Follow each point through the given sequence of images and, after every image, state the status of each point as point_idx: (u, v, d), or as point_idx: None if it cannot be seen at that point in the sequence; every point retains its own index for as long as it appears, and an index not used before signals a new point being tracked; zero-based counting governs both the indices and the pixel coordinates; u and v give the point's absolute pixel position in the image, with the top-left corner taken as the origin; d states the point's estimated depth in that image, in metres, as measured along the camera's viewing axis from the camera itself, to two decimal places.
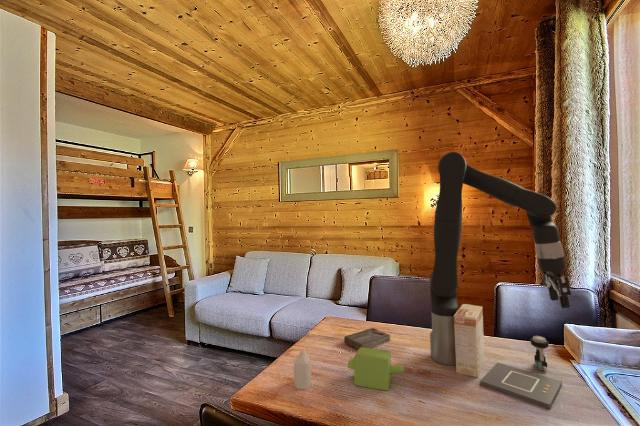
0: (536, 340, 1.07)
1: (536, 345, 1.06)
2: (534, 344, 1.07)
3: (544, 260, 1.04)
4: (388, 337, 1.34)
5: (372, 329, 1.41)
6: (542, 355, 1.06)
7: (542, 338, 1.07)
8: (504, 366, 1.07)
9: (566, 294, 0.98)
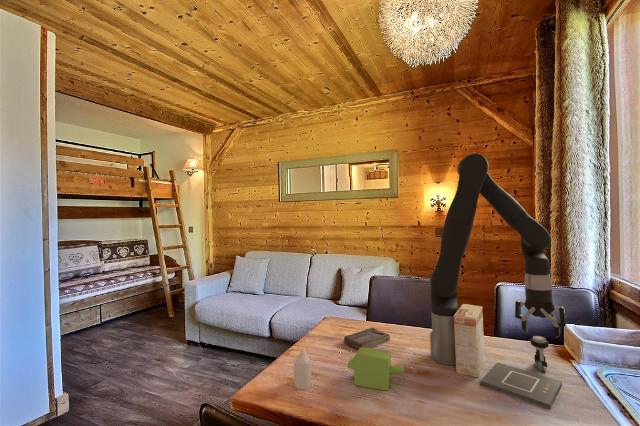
0: (536, 340, 1.07)
1: (536, 345, 1.06)
2: (534, 344, 1.07)
3: (545, 292, 1.03)
4: (388, 337, 1.34)
5: (371, 329, 1.41)
6: (542, 355, 1.06)
7: (542, 338, 1.07)
8: (504, 366, 1.07)
9: (565, 324, 1.02)
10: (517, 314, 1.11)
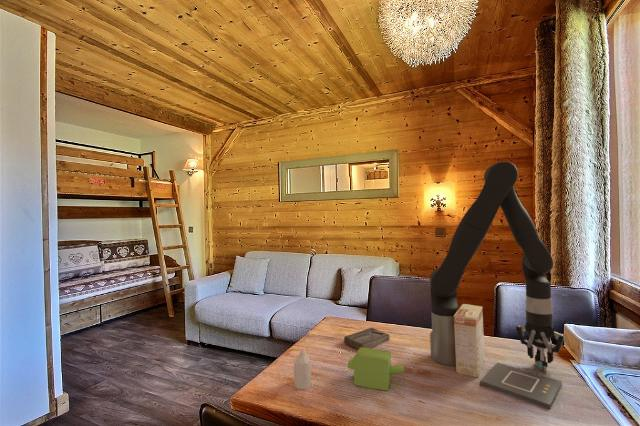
0: (537, 340, 1.07)
1: (537, 345, 1.06)
2: (535, 344, 1.07)
3: (546, 316, 1.03)
4: (387, 337, 1.34)
5: (371, 329, 1.42)
6: (543, 355, 1.06)
7: None
8: (504, 366, 1.07)
9: None
10: (523, 340, 1.10)
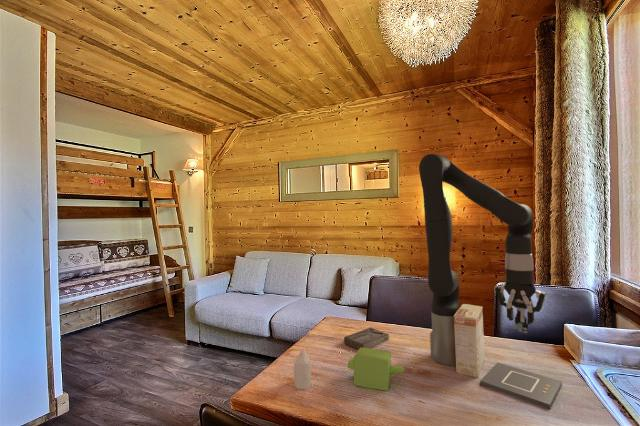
0: (517, 300, 0.99)
1: (517, 305, 0.98)
2: (515, 304, 0.99)
3: (526, 272, 0.95)
4: (387, 336, 1.35)
5: (370, 329, 1.42)
6: (523, 316, 0.98)
7: None
8: (504, 366, 1.07)
9: (540, 309, 0.95)
10: (502, 301, 1.01)
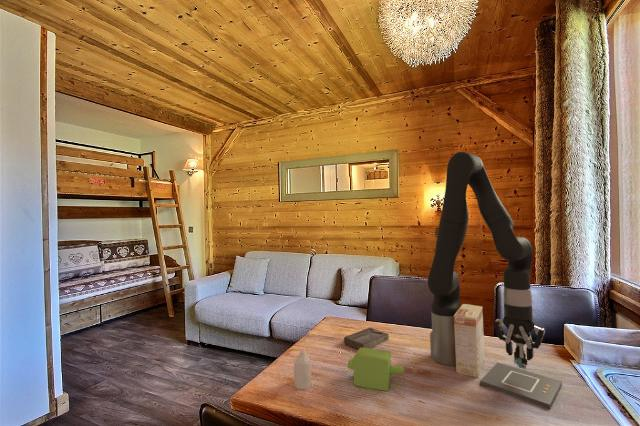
0: (516, 335, 0.97)
1: (516, 340, 0.97)
2: (514, 339, 0.97)
3: (524, 308, 0.94)
4: (387, 336, 1.35)
5: (369, 329, 1.42)
6: (522, 352, 0.96)
7: None
8: (504, 366, 1.07)
9: (539, 345, 0.94)
10: (501, 335, 1.00)
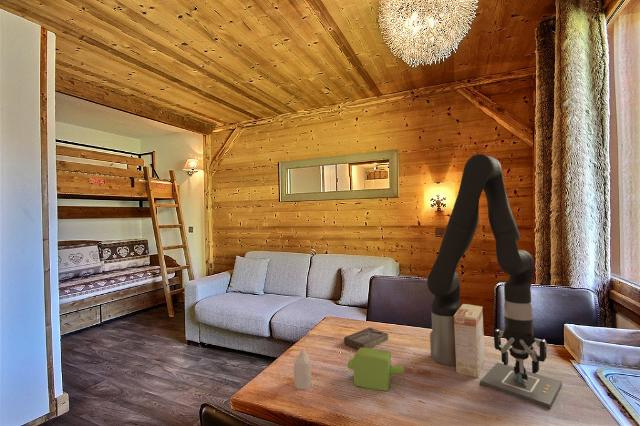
0: (515, 350, 0.97)
1: (515, 356, 0.97)
2: (513, 355, 0.97)
3: (525, 322, 0.94)
4: (386, 336, 1.35)
5: (369, 329, 1.42)
6: (522, 367, 0.96)
7: None
8: (504, 366, 1.07)
9: None
10: (497, 345, 1.01)
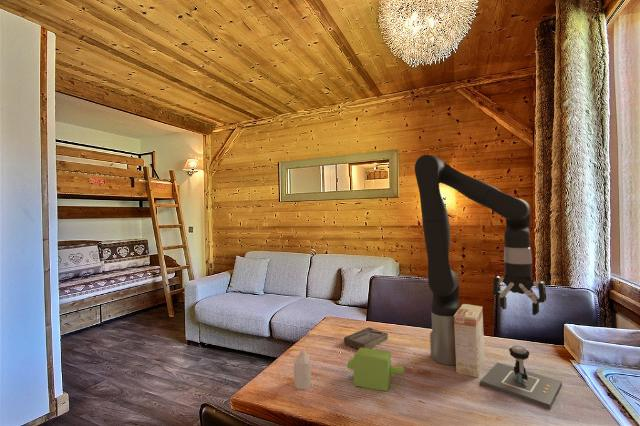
0: (515, 350, 0.97)
1: (515, 356, 0.97)
2: (513, 355, 0.97)
3: (524, 266, 0.97)
4: (386, 335, 1.35)
5: (368, 328, 1.42)
6: (522, 367, 0.96)
7: (522, 348, 0.98)
8: (504, 366, 1.07)
9: (544, 300, 0.96)
10: (495, 290, 1.05)
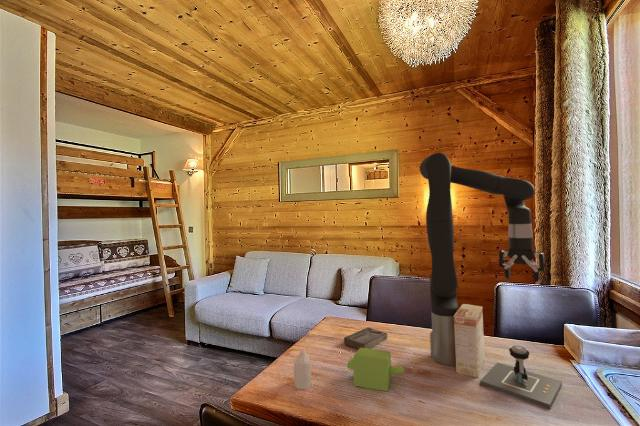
0: (515, 350, 0.97)
1: (515, 356, 0.97)
2: (513, 355, 0.97)
3: (526, 239, 1.11)
4: (386, 335, 1.36)
5: (368, 328, 1.42)
6: (522, 367, 0.96)
7: (522, 348, 0.98)
8: (504, 366, 1.07)
9: (544, 269, 1.10)
10: (501, 263, 1.19)
